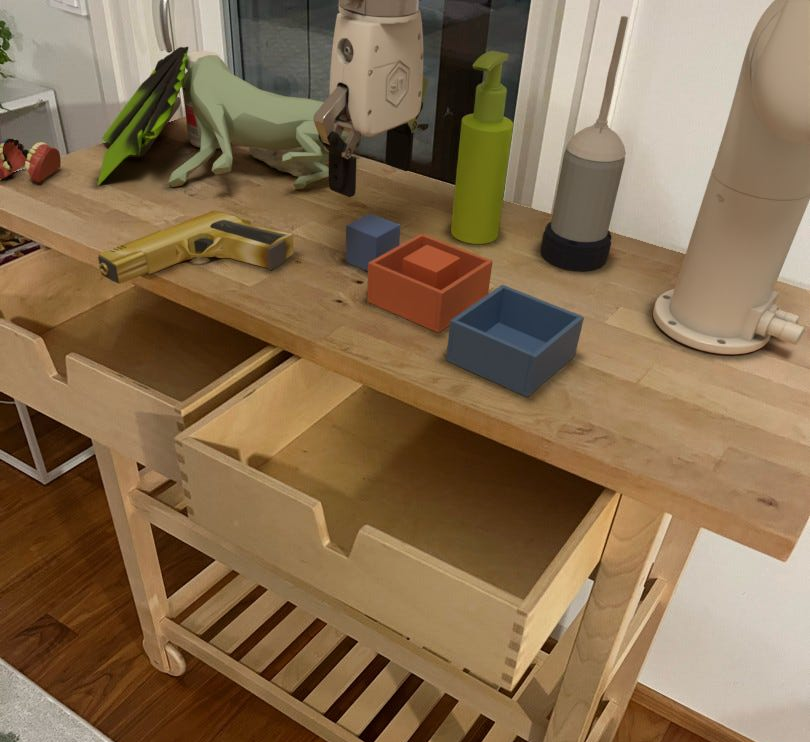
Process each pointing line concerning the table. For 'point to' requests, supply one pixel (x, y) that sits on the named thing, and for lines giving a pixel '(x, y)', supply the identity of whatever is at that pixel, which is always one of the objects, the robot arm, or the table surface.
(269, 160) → the sponge
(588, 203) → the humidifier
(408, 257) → the terracotta block
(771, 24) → the robot arm
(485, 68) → the soap dispenser
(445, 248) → the terracotta bin
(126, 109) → the cloth
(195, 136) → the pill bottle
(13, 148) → the dentures
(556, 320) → the blue bin
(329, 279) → the table surface
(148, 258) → the handgun
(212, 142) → the statue
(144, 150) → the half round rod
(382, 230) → the blue block
